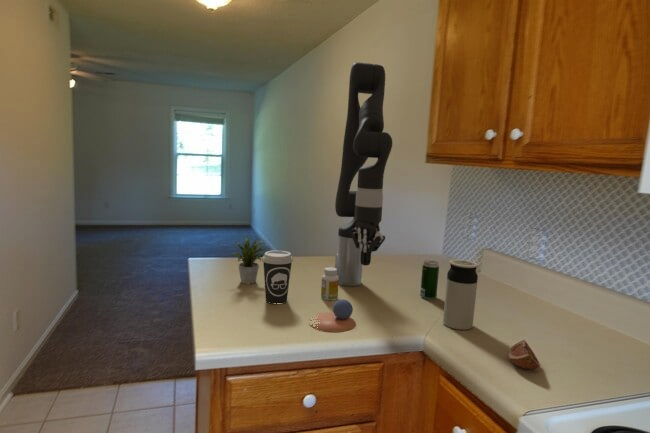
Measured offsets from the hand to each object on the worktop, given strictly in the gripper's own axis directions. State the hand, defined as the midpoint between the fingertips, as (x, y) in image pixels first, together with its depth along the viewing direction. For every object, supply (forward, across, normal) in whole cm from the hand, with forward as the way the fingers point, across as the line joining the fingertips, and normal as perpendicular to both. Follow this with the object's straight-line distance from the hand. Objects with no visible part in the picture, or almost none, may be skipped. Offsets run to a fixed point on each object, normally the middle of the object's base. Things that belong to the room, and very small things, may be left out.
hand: (365, 264), depth 120 cm
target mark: (+15, 0, +11) cm, 19 cm away
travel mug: (+15, -19, -19) cm, 31 cm away
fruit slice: (+15, -42, -12) cm, 46 cm away
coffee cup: (+15, +22, +16) cm, 31 cm away
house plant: (+15, +42, +16) cm, 47 cm away
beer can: (+15, +1, -30) cm, 34 cm away
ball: (+12, 0, +7) cm, 14 cm away
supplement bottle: (+15, +16, 0) cm, 22 cm away
